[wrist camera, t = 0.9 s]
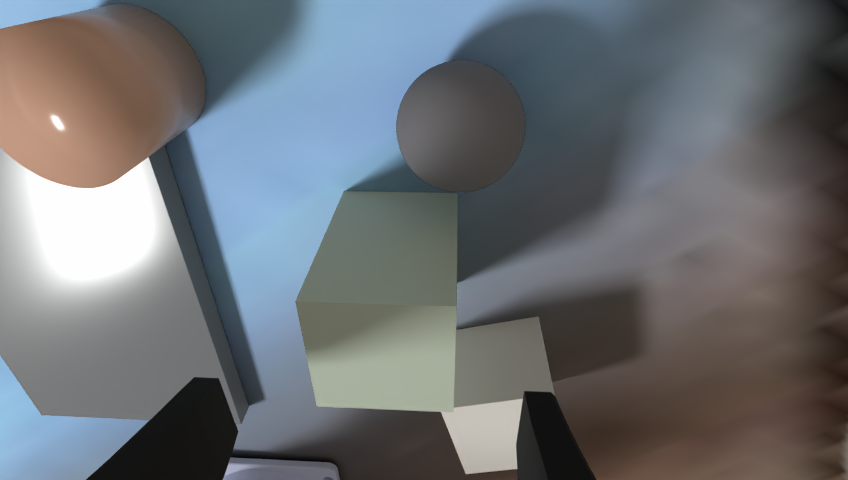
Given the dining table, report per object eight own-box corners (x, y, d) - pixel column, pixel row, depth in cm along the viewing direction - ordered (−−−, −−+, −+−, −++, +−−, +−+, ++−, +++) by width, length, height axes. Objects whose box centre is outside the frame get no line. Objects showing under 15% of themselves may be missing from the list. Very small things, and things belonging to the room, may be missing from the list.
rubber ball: (513, 162, 16) (525, 216, 13) (404, 160, 16) (392, 214, 13) (523, 47, 14) (541, 79, 11) (400, 47, 14) (384, 79, 11)
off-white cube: (551, 380, 22) (568, 463, 18) (464, 392, 22) (465, 474, 19) (538, 315, 20) (554, 394, 16) (443, 330, 20) (440, 409, 17)
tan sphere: (219, 135, 16) (157, 189, 13) (105, 134, 16) (14, 187, 13) (186, 3, 14) (100, 26, 11) (54, 4, 14) (-70, 28, 11)
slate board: (248, 406, 24) (241, 424, 23) (56, 398, 24) (41, 415, 24) (161, 135, 16) (144, 146, 15) (-116, 132, 17) (-146, 143, 16)
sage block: (455, 283, 19) (453, 412, 14) (354, 280, 19) (317, 406, 14) (457, 192, 17) (456, 306, 12) (344, 190, 17) (295, 301, 12)
